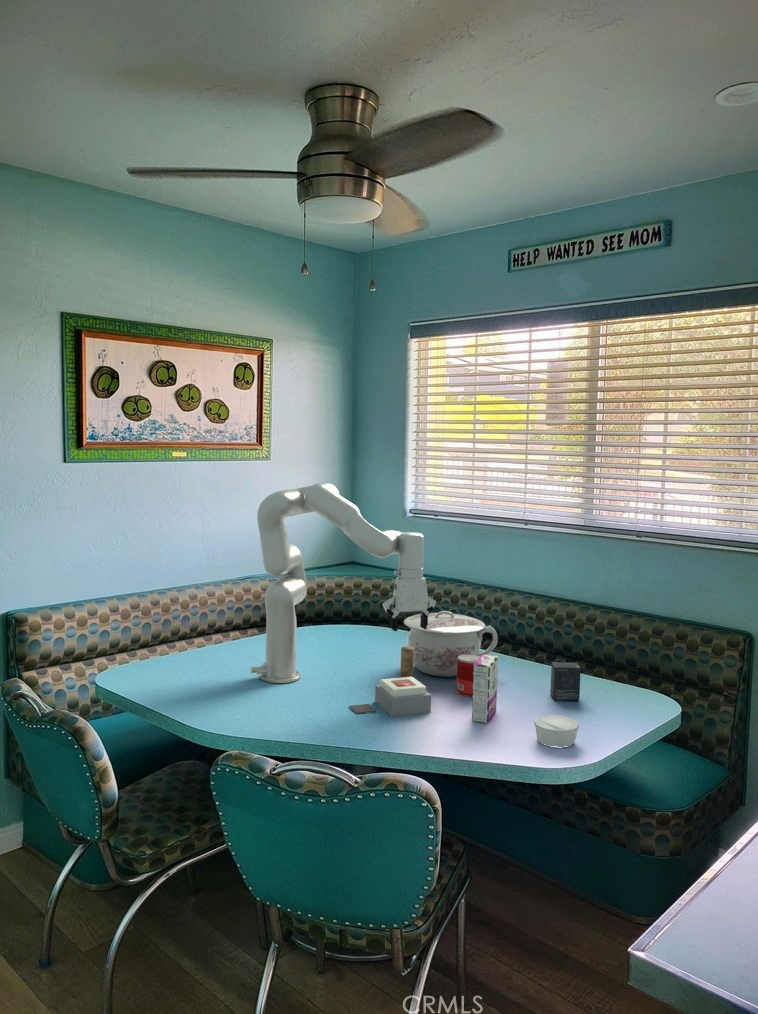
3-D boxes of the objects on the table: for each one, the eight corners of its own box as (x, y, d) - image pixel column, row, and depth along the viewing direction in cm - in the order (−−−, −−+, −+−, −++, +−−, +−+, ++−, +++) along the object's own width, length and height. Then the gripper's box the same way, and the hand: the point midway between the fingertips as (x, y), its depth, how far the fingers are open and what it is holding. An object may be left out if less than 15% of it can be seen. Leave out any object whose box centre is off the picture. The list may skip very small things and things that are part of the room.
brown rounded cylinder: (402, 695, 237) (404, 650, 236) (397, 691, 241) (399, 646, 239) (414, 694, 238) (416, 649, 237) (409, 690, 242) (411, 645, 241)
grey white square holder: (391, 716, 219) (392, 691, 218) (375, 701, 231) (375, 678, 230) (430, 712, 223) (431, 688, 223) (412, 697, 235) (412, 674, 235)
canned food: (481, 697, 237) (482, 662, 236) (454, 695, 239) (456, 659, 238) (482, 689, 245) (484, 655, 244) (457, 687, 246) (458, 653, 245)
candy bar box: (479, 709, 227) (481, 653, 226) (496, 711, 225) (499, 655, 224) (470, 721, 217) (472, 663, 215) (488, 724, 215) (490, 666, 214)
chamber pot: (384, 669, 263) (386, 608, 262) (439, 655, 282) (441, 598, 281) (447, 690, 243) (450, 624, 242) (501, 673, 262) (504, 613, 261)
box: (575, 695, 242) (576, 662, 241) (579, 701, 237) (581, 667, 236) (549, 694, 242) (551, 661, 241) (553, 700, 237) (555, 666, 236)
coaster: (356, 714, 220) (356, 712, 220) (349, 707, 225) (349, 705, 225) (376, 711, 222) (376, 710, 222) (368, 705, 227) (368, 703, 227)
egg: (398, 698, 224) (398, 686, 223) (391, 693, 228) (392, 681, 228) (413, 697, 225) (414, 685, 225) (407, 692, 230) (407, 680, 230)
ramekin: (530, 746, 201) (531, 726, 200) (537, 731, 211) (538, 712, 211) (574, 753, 197) (575, 733, 196) (580, 738, 207) (581, 718, 207)
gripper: (388, 576, 230) (387, 634, 231) (441, 574, 236) (440, 630, 237) (379, 572, 236) (378, 628, 238) (431, 570, 243) (429, 624, 244)
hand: (409, 629), depth 238 cm, fingers open, 9 cm apart
